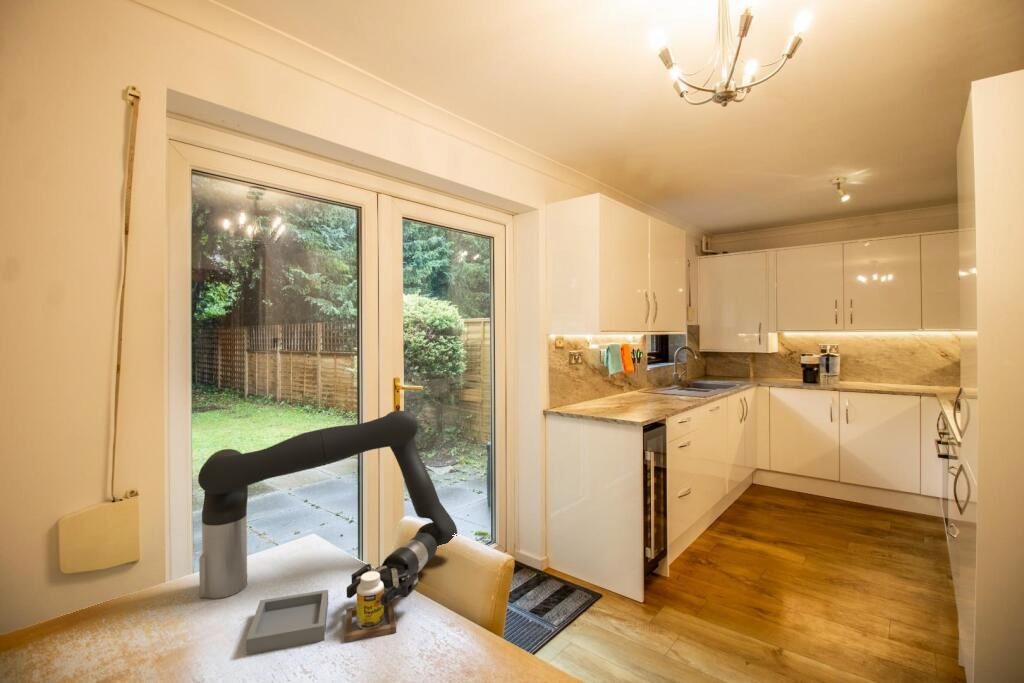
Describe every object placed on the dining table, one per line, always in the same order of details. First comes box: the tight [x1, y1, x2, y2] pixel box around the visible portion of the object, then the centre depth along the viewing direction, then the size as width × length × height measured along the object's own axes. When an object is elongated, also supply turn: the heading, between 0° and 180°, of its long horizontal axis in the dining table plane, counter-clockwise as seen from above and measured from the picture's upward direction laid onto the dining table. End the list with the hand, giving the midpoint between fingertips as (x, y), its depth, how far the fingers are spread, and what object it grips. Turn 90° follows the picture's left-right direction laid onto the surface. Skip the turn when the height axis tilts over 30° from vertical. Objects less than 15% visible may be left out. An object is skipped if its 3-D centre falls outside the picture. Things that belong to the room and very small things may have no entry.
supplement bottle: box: [356, 571, 385, 630], centre depth 100 cm, size 6×6×10 cm
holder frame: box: [344, 600, 397, 643], centre depth 101 cm, size 10×10×1 cm
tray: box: [245, 589, 329, 656], centre depth 99 cm, size 14×14×3 cm
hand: (365, 597), depth 99 cm, fingers open, 8 cm apart
